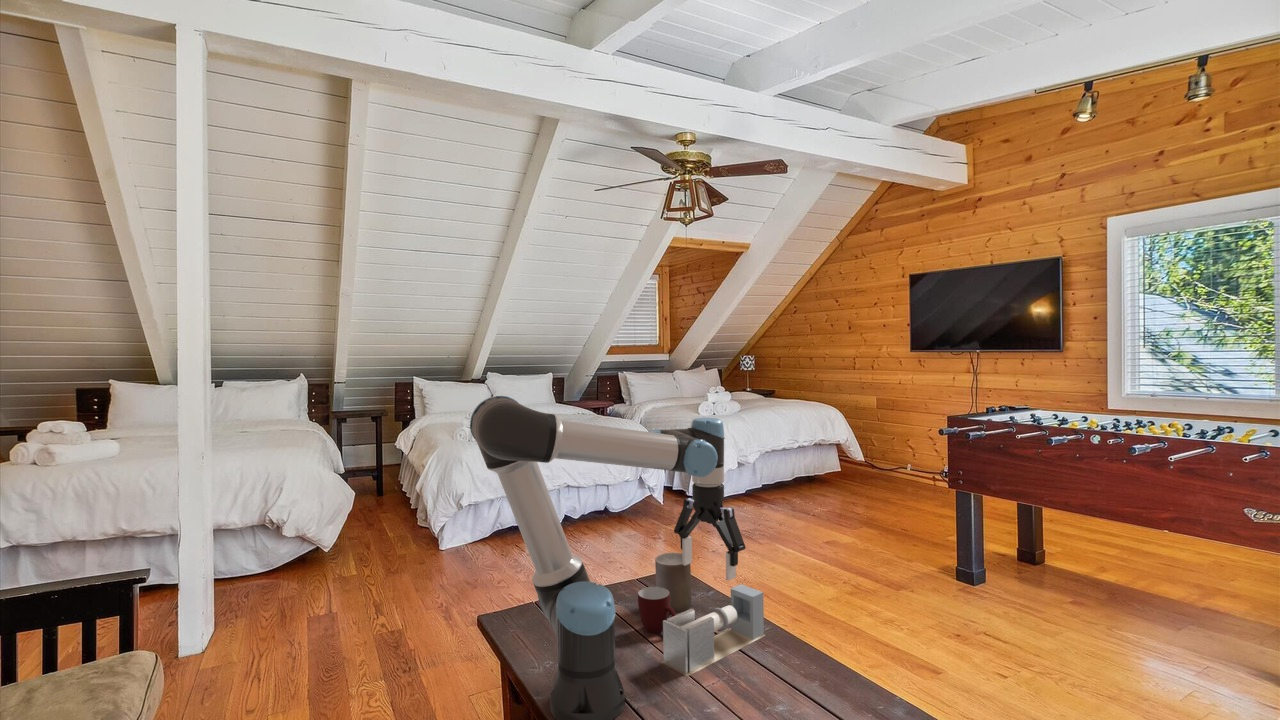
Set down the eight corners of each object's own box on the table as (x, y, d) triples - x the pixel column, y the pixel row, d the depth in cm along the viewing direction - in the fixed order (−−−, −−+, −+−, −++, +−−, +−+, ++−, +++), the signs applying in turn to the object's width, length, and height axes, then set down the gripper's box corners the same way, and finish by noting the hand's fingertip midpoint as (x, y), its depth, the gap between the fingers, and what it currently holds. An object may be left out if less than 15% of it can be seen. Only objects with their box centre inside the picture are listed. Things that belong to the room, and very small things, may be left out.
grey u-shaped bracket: (685, 674, 143) (685, 631, 142) (663, 662, 148) (663, 620, 148) (714, 659, 149) (713, 618, 148) (692, 648, 154) (691, 608, 154)
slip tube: (686, 653, 144) (686, 630, 144) (670, 645, 148) (669, 623, 148) (739, 627, 156) (739, 606, 156) (723, 620, 160) (722, 599, 160)
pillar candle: (697, 604, 180) (696, 551, 180) (681, 618, 172) (679, 562, 171) (667, 598, 185) (665, 545, 185) (649, 611, 177) (647, 556, 177)
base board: (687, 680, 142) (687, 676, 142) (660, 665, 148) (660, 662, 148) (766, 638, 160) (765, 635, 160) (739, 627, 167) (739, 623, 167)
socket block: (753, 639, 158) (752, 597, 158) (731, 629, 163) (730, 588, 163) (763, 634, 161) (763, 592, 160) (741, 624, 166) (741, 584, 165)
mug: (684, 630, 165) (684, 592, 164) (670, 644, 158) (669, 604, 158) (648, 622, 170) (647, 584, 170) (632, 635, 163) (631, 595, 163)
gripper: (760, 489, 149) (760, 580, 150) (680, 472, 167) (680, 554, 168) (740, 495, 144) (740, 590, 145) (659, 477, 162) (660, 561, 163)
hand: (708, 571), depth 157 cm, fingers open, 13 cm apart
